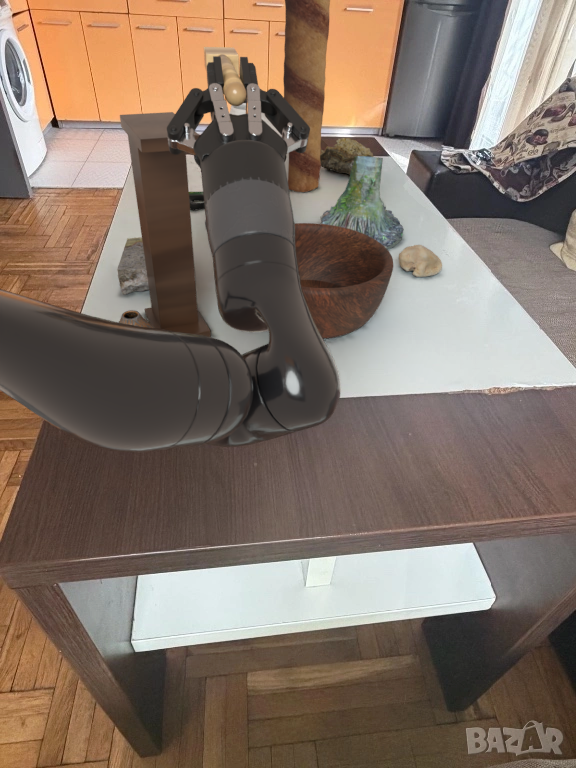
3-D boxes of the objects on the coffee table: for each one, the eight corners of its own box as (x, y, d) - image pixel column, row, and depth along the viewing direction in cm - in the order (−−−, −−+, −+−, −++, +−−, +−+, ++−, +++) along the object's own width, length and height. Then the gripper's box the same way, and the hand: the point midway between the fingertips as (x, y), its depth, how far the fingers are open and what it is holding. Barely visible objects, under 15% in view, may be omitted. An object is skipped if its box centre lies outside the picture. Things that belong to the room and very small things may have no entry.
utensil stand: (215, 343, 81) (204, 134, 62) (163, 354, 78) (135, 139, 59) (192, 305, 89) (176, 111, 70) (145, 314, 86) (115, 114, 67)
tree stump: (316, 249, 109) (320, 156, 102) (320, 234, 127) (324, 154, 120) (405, 253, 108) (416, 158, 100) (397, 237, 126) (405, 156, 118)
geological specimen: (115, 272, 87) (126, 230, 98) (122, 303, 91) (132, 260, 102) (181, 269, 88) (184, 229, 99) (185, 300, 92) (188, 258, 103)
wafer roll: (271, 182, 140) (276, -34, 111) (305, 177, 144) (319, -32, 116) (290, 195, 133) (300, -32, 104) (325, 189, 137) (345, -29, 109)
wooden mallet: (204, 66, 63) (203, 46, 61) (234, 66, 63) (234, 47, 62) (217, 108, 48) (216, 83, 46) (256, 108, 48) (256, 84, 47)
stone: (410, 271, 108) (389, 252, 103) (435, 251, 106) (415, 230, 100) (423, 293, 104) (402, 274, 99) (450, 272, 101) (430, 251, 96)
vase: (172, 357, 77) (165, 306, 72) (150, 386, 72) (141, 332, 67) (129, 349, 79) (120, 297, 73) (105, 376, 74) (93, 323, 68)
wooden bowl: (381, 360, 79) (393, 301, 73) (221, 338, 82) (218, 279, 75) (385, 283, 99) (395, 230, 92) (255, 267, 101) (256, 215, 95)
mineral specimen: (361, 165, 155) (365, 128, 149) (380, 179, 145) (386, 141, 139) (315, 167, 151) (318, 130, 145) (332, 182, 142) (335, 143, 135)
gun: (141, 205, 119) (145, 190, 127) (142, 212, 120) (145, 196, 127) (214, 205, 121) (212, 190, 129) (214, 211, 122) (213, 196, 130)
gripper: (335, 180, 43) (304, 28, 49) (163, 184, 41) (152, 25, 46) (318, 235, 50) (294, 97, 56) (171, 241, 48) (161, 96, 53)
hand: (229, 65), depth 51 cm, fingers closed on wooden mallet, 2 cm apart
